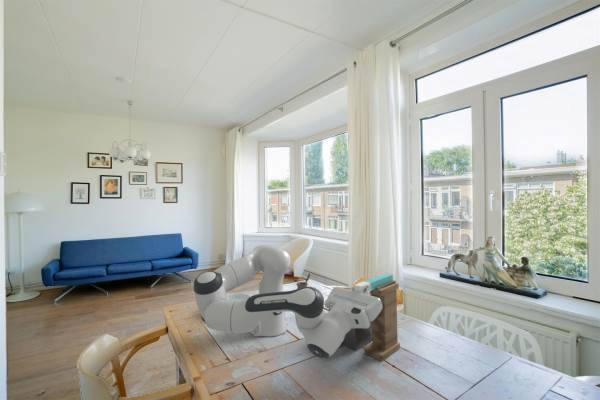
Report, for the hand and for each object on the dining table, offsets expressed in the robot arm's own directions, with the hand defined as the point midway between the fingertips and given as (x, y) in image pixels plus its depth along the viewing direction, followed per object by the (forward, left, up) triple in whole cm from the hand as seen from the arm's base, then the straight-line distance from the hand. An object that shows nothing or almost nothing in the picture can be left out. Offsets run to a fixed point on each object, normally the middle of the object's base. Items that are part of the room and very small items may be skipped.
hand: (364, 286), depth 103 cm
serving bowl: (-80, -11, -28) cm, 86 cm away
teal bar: (0, +7, -2) cm, 7 cm away
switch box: (-14, +10, -28) cm, 33 cm away
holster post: (0, +11, -28) cm, 30 cm away
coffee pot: (-60, +26, -28) cm, 71 cm away
